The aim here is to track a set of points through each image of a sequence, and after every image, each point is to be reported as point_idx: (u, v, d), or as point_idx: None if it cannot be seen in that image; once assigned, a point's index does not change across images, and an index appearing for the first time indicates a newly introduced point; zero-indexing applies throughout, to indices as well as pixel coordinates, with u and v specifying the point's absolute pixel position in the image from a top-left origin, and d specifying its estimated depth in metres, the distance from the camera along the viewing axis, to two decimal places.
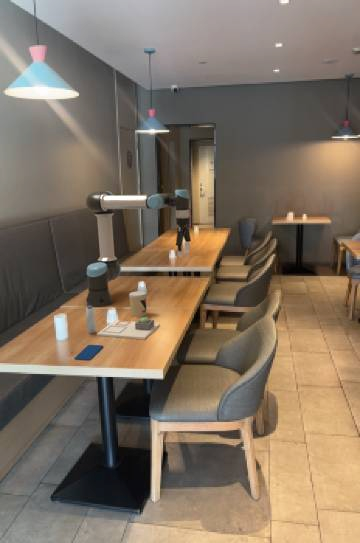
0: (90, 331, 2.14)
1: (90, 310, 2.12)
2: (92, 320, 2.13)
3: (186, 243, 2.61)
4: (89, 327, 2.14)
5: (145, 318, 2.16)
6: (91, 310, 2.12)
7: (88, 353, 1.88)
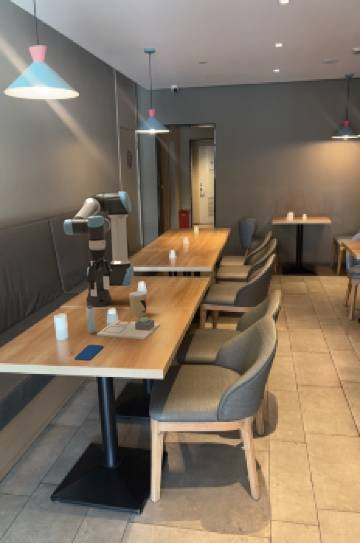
0: (90, 331, 2.14)
1: (90, 310, 2.12)
2: (92, 320, 2.13)
3: (105, 278, 2.21)
4: (89, 327, 2.14)
5: (145, 318, 2.16)
6: (91, 310, 2.12)
7: (88, 353, 1.88)
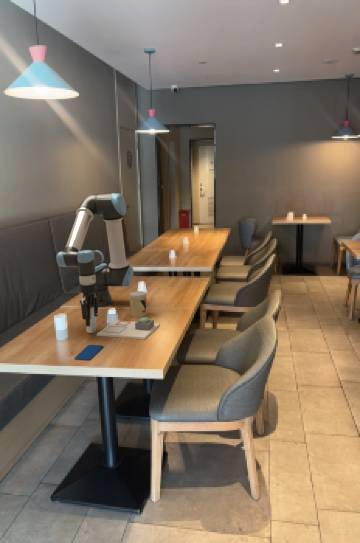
0: None
1: (90, 310, 2.12)
2: (92, 320, 2.13)
3: None
4: None
5: (145, 318, 2.16)
6: (91, 310, 2.12)
7: (88, 353, 1.88)
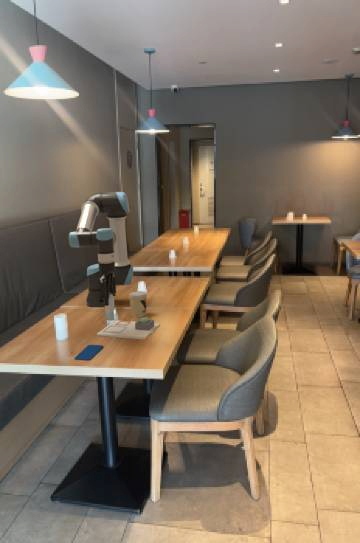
0: (109, 318, 2.11)
1: (109, 296, 2.09)
2: (111, 307, 2.11)
3: None
4: (108, 314, 2.11)
5: (145, 318, 2.16)
6: (110, 296, 2.10)
7: (88, 353, 1.88)
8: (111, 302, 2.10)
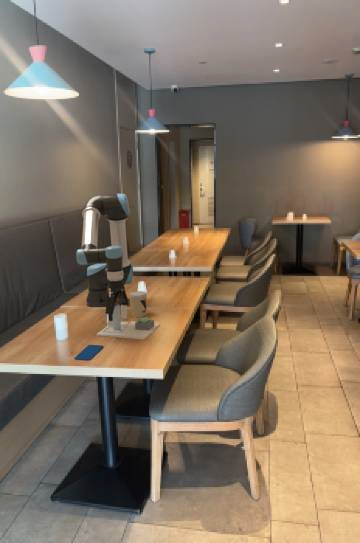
0: (116, 328, 2.14)
1: (116, 307, 2.12)
2: (118, 317, 2.13)
3: (122, 307, 2.20)
4: (115, 324, 2.13)
5: (145, 318, 2.16)
6: (117, 307, 2.12)
7: (88, 353, 1.88)
8: (118, 313, 2.13)
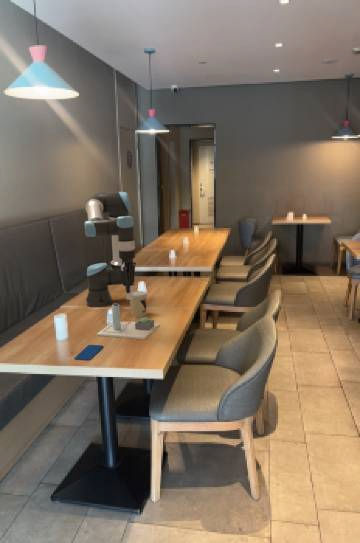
0: (116, 328, 2.14)
1: (116, 307, 2.12)
2: (118, 317, 2.13)
3: None
4: (115, 324, 2.13)
5: (145, 318, 2.16)
6: (117, 307, 2.12)
7: (88, 353, 1.88)
8: (118, 313, 2.13)
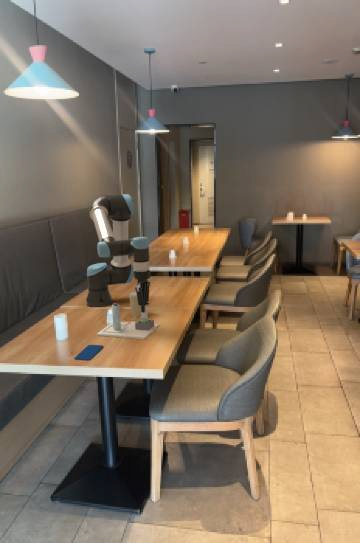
0: (116, 328, 2.14)
1: (116, 307, 2.12)
2: (118, 317, 2.13)
3: None
4: (115, 324, 2.13)
5: None
6: (117, 307, 2.12)
7: (88, 353, 1.88)
8: (118, 313, 2.13)
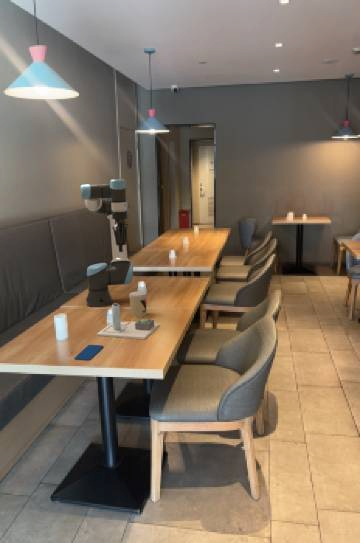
0: (116, 328, 2.14)
1: (116, 307, 2.12)
2: (118, 317, 2.13)
3: None
4: (115, 324, 2.13)
5: (145, 319, 2.16)
6: (117, 307, 2.12)
7: (88, 353, 1.88)
8: (118, 313, 2.13)
